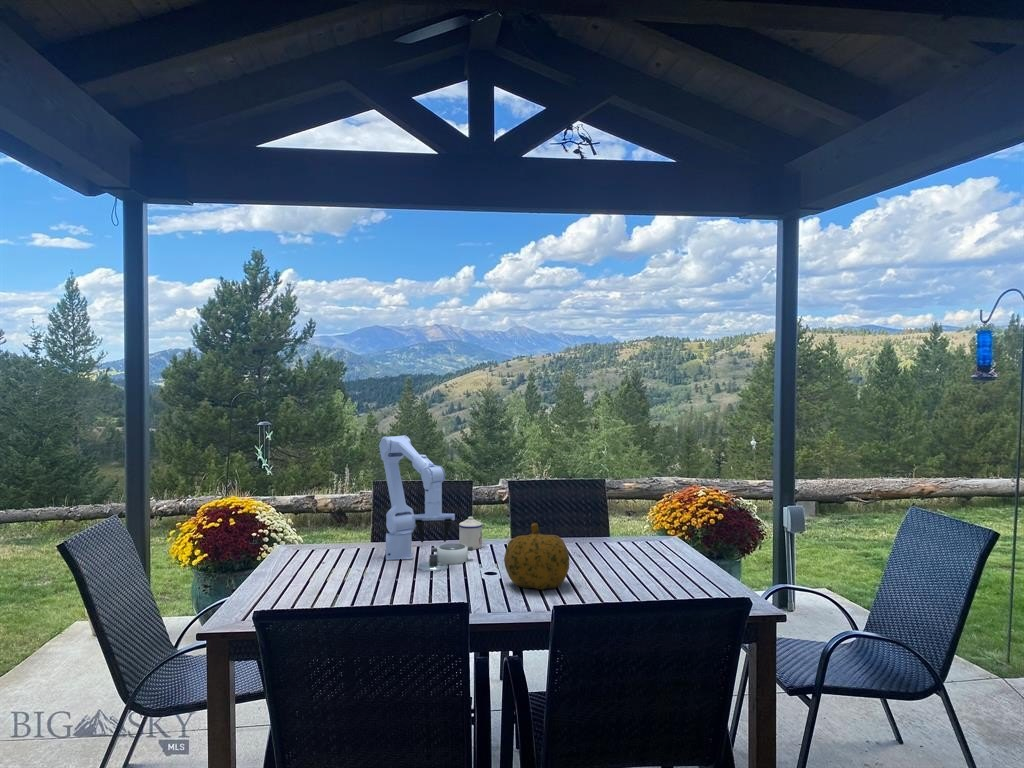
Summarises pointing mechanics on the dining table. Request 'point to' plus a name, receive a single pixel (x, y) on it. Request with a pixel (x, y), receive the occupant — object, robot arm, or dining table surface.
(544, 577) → the decorative pumpkin
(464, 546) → the pot
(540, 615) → the dining table surface
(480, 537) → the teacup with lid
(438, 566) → the lid
